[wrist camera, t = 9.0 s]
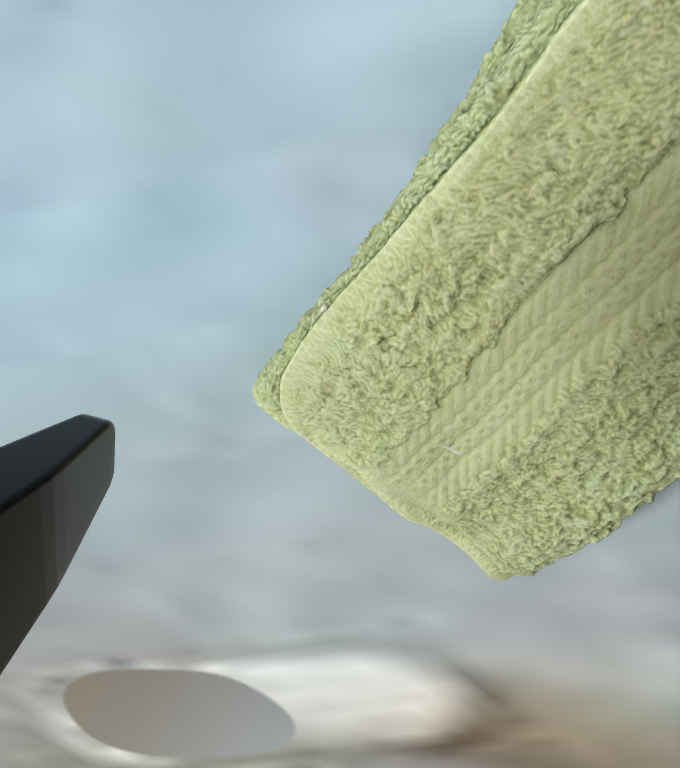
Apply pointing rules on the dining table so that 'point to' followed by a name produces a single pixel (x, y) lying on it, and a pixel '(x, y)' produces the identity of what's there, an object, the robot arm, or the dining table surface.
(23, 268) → the dining table surface
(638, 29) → the washcloth
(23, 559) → the robot arm
